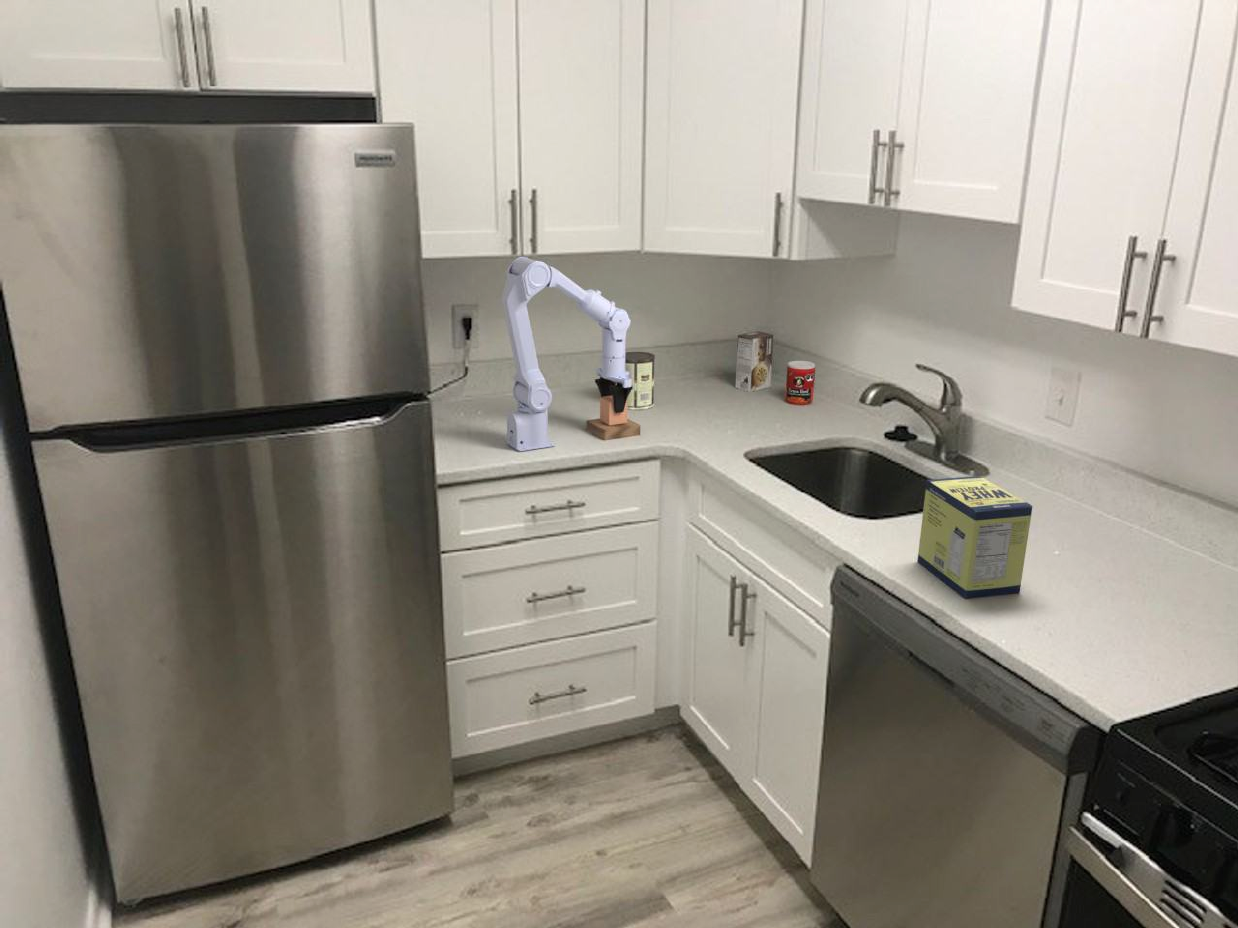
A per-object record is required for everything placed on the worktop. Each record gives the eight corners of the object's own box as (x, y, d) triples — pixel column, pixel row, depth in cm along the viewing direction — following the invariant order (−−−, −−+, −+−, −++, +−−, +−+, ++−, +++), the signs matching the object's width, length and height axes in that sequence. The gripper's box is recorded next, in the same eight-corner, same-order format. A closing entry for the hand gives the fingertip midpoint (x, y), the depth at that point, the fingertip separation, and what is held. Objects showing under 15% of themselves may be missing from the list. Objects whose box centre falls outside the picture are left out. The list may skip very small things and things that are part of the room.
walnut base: (605, 442, 238) (605, 430, 237) (586, 431, 246) (586, 420, 245) (640, 436, 242) (640, 425, 241) (620, 426, 250) (621, 415, 249)
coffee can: (629, 398, 275) (630, 349, 271) (660, 404, 270) (662, 354, 266) (609, 406, 267) (609, 356, 263) (641, 412, 262) (642, 361, 257)
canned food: (783, 404, 271) (785, 365, 268) (787, 397, 278) (789, 359, 275) (811, 406, 269) (813, 367, 265) (814, 399, 276) (817, 361, 273)
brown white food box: (755, 383, 294) (758, 330, 288) (771, 387, 289) (774, 334, 284) (734, 388, 288) (736, 334, 283) (750, 392, 283) (753, 337, 278)
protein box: (967, 555, 174) (978, 474, 169) (1021, 593, 160) (1035, 505, 155) (915, 561, 172) (924, 478, 166) (965, 600, 157) (977, 511, 152)
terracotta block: (609, 425, 240) (609, 402, 238) (600, 420, 244) (600, 397, 242) (626, 422, 242) (627, 399, 240) (617, 417, 246) (617, 394, 244)
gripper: (642, 360, 233) (641, 414, 238) (613, 348, 245) (613, 400, 250) (617, 363, 230) (616, 418, 234) (589, 351, 242) (589, 404, 246)
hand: (613, 409), depth 242 cm, fingers open, 5 cm apart
